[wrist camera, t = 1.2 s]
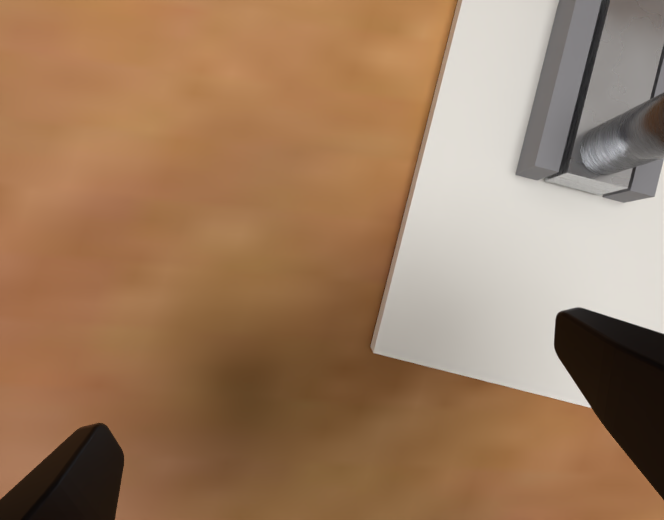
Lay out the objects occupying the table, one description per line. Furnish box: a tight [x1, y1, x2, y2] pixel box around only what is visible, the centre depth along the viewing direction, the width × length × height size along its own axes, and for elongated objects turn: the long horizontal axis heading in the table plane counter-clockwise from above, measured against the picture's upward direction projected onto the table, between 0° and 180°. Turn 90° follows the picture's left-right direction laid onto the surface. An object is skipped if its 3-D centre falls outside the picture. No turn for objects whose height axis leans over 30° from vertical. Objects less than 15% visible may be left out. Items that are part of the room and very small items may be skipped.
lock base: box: [370, 0, 664, 408], centre depth 18 cm, size 30×16×10 cm, turn 166°
